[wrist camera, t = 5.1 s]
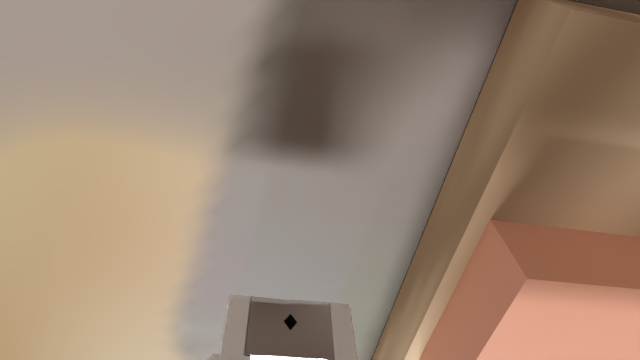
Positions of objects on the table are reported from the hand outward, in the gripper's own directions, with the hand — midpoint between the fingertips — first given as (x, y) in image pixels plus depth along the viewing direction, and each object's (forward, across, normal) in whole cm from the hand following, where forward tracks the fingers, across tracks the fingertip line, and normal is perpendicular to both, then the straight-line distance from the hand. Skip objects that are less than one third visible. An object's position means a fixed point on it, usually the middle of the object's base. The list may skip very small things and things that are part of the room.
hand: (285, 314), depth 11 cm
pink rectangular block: (+1, -9, 0) cm, 9 cm away
